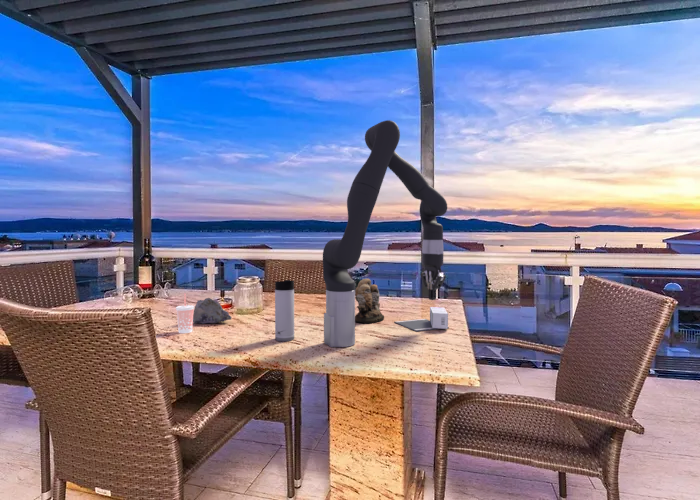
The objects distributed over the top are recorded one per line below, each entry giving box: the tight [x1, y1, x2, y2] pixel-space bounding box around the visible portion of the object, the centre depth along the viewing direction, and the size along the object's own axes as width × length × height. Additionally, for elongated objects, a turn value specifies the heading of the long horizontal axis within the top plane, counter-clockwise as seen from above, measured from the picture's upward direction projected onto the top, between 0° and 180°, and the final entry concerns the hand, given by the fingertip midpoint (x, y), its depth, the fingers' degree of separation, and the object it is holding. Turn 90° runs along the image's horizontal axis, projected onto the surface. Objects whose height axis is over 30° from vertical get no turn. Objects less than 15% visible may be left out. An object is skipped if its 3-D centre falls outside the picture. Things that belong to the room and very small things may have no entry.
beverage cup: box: [175, 292, 195, 334], centre depth 146 cm, size 6×6×14 cm
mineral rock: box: [193, 297, 233, 325], centre depth 160 cm, size 13×11×10 cm
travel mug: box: [274, 279, 295, 343], centre depth 136 cm, size 6×7×20 cm
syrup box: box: [429, 306, 449, 330], centre depth 156 cm, size 6×6×14 cm
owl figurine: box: [355, 278, 385, 325], centre depth 167 cm, size 18×12×17 cm, turn 159°
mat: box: [394, 318, 450, 333], centre depth 157 cm, size 14×16×1 cm
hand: (432, 299), depth 150 cm, fingers closed
